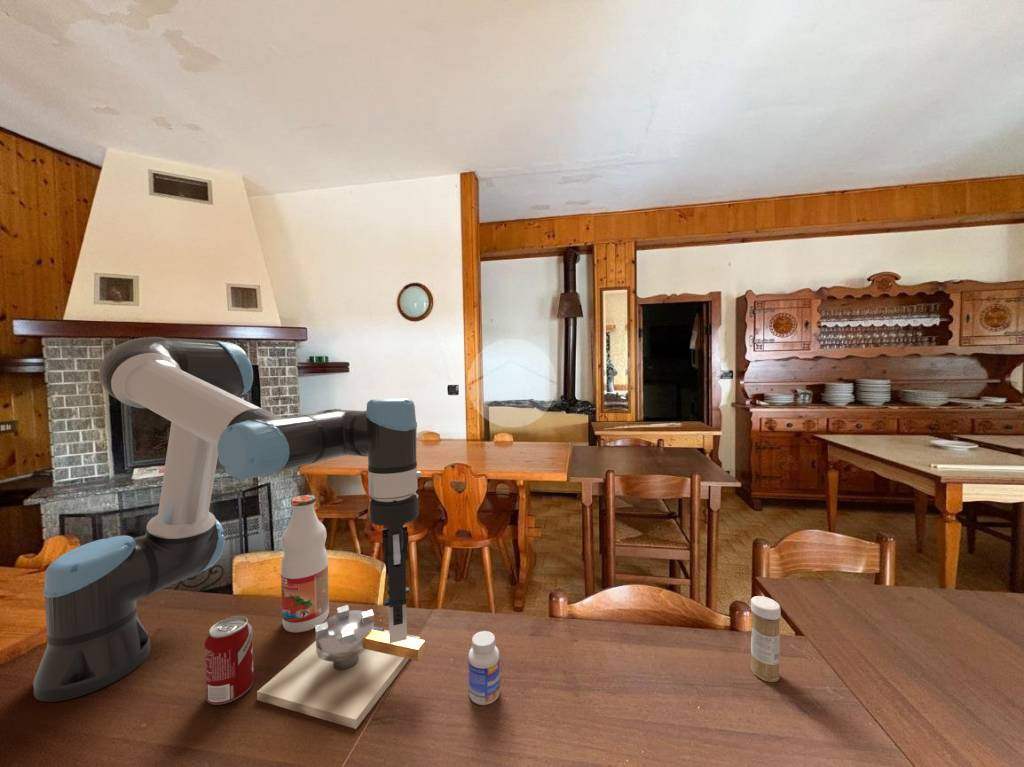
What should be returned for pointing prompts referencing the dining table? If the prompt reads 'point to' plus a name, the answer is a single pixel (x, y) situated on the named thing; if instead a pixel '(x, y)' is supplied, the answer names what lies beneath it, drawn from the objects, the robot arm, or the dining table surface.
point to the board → (333, 684)
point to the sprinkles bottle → (765, 638)
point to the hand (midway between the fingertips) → (398, 638)
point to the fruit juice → (304, 568)
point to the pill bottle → (484, 669)
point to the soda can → (229, 660)
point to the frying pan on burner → (359, 637)
